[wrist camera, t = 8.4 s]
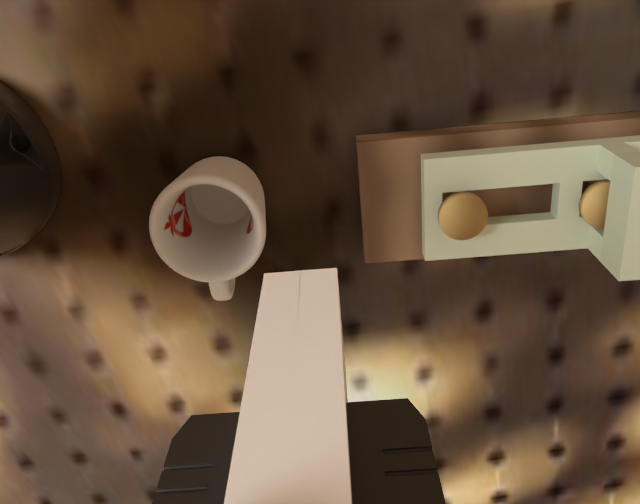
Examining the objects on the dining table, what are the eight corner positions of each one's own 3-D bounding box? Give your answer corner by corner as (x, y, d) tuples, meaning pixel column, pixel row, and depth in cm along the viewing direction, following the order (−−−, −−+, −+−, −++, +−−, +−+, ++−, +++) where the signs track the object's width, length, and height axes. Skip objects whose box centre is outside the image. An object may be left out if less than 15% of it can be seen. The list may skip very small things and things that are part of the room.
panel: (422, 252, 47) (437, 294, 41) (420, 153, 43) (436, 184, 37) (696, 231, 46) (752, 271, 40) (717, 128, 42) (781, 155, 36)
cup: (280, 265, 50) (273, 316, 43) (186, 269, 51) (164, 320, 43) (269, 141, 46) (259, 173, 39) (166, 145, 46) (137, 179, 39)
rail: (363, 252, 50) (368, 287, 44) (355, 135, 46) (360, 158, 40) (680, 227, 49) (725, 260, 43) (703, 105, 44) (756, 124, 39)
